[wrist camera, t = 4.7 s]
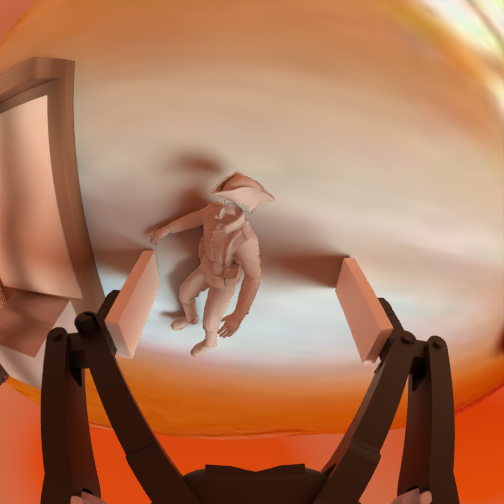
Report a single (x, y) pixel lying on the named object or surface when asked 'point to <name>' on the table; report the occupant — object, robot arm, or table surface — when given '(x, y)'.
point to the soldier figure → (221, 259)
